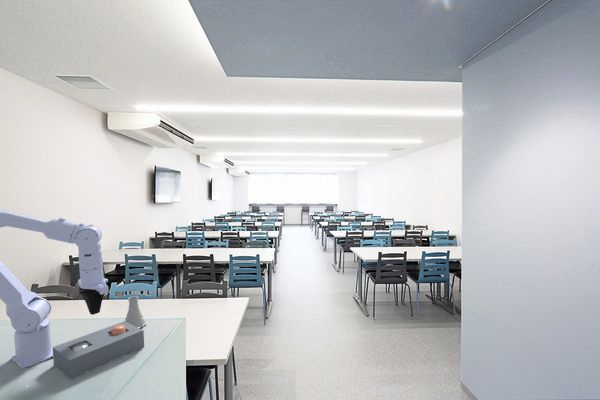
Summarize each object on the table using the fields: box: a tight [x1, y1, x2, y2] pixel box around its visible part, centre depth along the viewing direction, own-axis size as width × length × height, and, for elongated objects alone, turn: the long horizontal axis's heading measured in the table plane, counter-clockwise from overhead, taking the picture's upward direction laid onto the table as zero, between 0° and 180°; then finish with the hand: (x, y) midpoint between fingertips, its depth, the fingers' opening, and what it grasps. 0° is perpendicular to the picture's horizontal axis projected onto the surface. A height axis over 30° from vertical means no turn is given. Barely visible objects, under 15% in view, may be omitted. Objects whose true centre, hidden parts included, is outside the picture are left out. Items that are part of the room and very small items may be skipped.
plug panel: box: [52, 320, 145, 380], centre depth 93 cm, size 11×19×5 cm, turn 145°
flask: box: [124, 295, 146, 327], centre depth 110 cm, size 7×7×10 cm
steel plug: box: [72, 343, 89, 352], centre depth 89 cm, size 4×4×4 cm
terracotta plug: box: [111, 325, 126, 336], centre depth 97 cm, size 4×4×4 cm
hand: (94, 313), depth 97 cm, fingers closed
